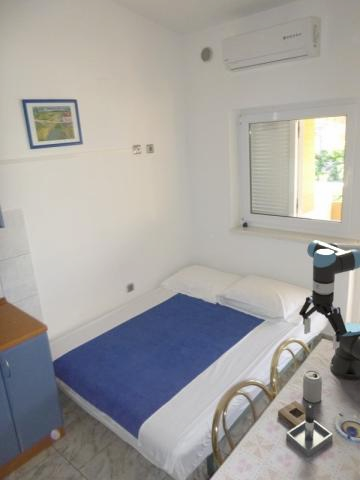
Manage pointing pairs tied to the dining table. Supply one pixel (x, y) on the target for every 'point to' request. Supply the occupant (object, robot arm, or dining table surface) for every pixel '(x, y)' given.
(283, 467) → the dining table surface
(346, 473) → the dining table surface
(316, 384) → the can
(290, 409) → the plate
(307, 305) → the robot arm
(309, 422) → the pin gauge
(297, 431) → the tray
